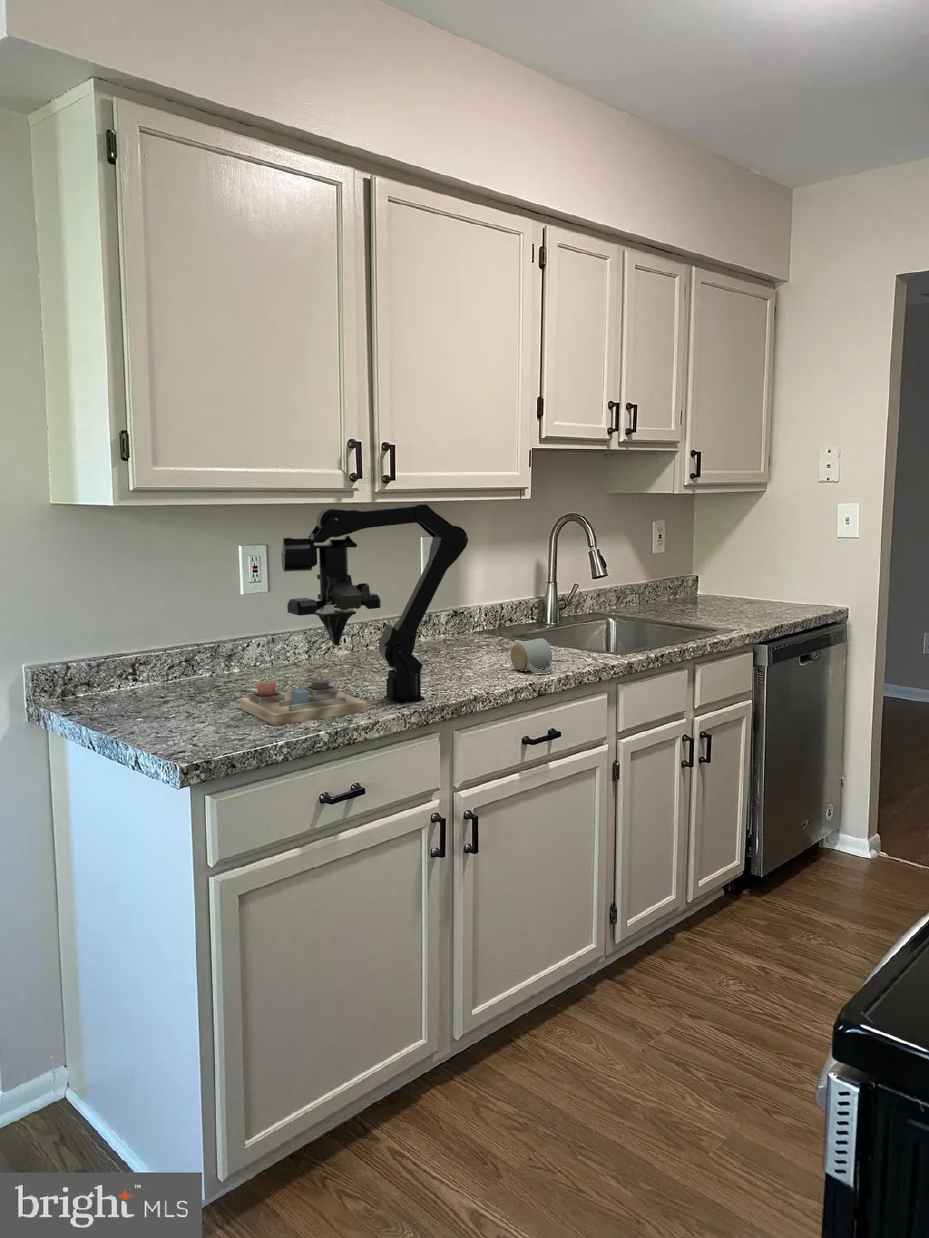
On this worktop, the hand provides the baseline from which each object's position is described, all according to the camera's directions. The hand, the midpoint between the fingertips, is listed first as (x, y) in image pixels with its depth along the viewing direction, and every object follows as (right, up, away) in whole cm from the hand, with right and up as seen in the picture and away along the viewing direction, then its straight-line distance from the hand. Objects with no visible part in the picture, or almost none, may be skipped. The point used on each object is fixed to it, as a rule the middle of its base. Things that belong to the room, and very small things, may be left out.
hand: (335, 645), depth 199 cm
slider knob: (-6, -11, -9) cm, 16 cm away
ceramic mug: (+44, -8, +37) cm, 58 cm away
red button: (-13, -10, -4) cm, 17 cm away
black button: (-4, -10, +3) cm, 11 cm away
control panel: (-6, -13, -4) cm, 15 cm away
